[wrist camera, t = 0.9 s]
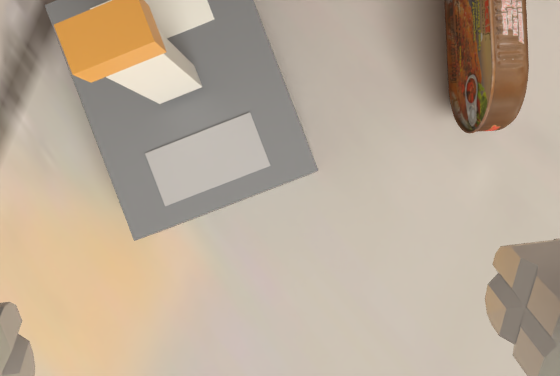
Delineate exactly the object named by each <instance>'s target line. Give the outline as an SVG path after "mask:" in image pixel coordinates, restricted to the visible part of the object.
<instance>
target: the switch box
mask: <svg viewBox="0 0 560 376" xmlns="http://www.w3.org/2000/svg"><path fill="white" fill-rule="evenodd" d="M110 1H112V0H56V1H54V2H51V3H49V4H46V5H45V8H46V10H47V13H48V16H49V18H50V21H51V23H52V26H53V29H54V31H55V34H56V37H57V39H58V42H59V44H60V47H61V50H62V52H63V55H64V58H65V60H66V63H67V65H68V68H69V71H70V73H71V76H72V79H73V81H74V84H75V86H76V89H77V92H78V94H79V97H80V100H81V102H82V105H83V107H84V110H85V113H86V115H87V118H88V121H89V123H90V126H91V128H92V131H93V134H94V136H95V139H96V142H97V144H98V147H99V149H100V152H101V155H102V157H103V160H104V163H105V165H106V168H107V171H108V173H109V176H110V178H111V181H112V184H113V186H114V189H115V192H116V194H117V197H118V199H119V202H120V205H121V207H122V210H123V213H124V215H125V218H126V220H127V223H128V226H129V228H130V231H131V234H132V236H133V239H134V241H135V240H138V239H141V238H144V237H146V236H149V235H152V234H155V233H158V232H160V231H163V230H166V229H168V228H171V227H174V226H176V225H179V224H181V223H184V222H187V221H189V220H192V219H194V218H197V217H200V216H202V215H205V214H208V213H210V212H213V211H215V210H218V209H221V208H223V207H226V206H228V205H231V204H234V203H236V202H239V201H242V200H244V199H247V198H249V197H252V196H255V195H257V194H260V193H262V192H265V191H268V190H270V189H273V188H275V187H278V186H281V185H283V184H286V183H289V182H291V181H294V180H296V179H299V178H302V177H304V176H307V175H309V174H312V173H315V172H317V171H318V168H317V166H316V163H315V161H314V158H313V155H312V153H311V150H310V148H309V145H308V142H307V140H306V137H305V134H304V132H303V129H302V127H301V124H300V121H299V119H298V116H297V114H296V111H295V108H294V106H293V103H292V100H291V98H290V95H289V93H288V90H287V87H286V85H285V82H284V80H283V77H282V74H281V72H280V69H279V66H278V64H277V61H276V59H275V56H274V53H273V51H272V48H271V46H270V43H269V40H268V38H267V35H266V32H265V30H264V27H263V25H262V22H261V19H260V17H259V14H258V12H257V9H256V6H255V4H254V1H253V0H144V1H145V2H146V3H147V4H148V5H149V7H150V10H151V12H152V15H153V17H154V20H155V23H156V25H157V28H158V30H159V31H160V32H161V33H162V34H163V35H164V36H165V37H166V38H167V39H168V40H169V41H170V42H171V43H172V44H173V45H174V46H175V47H176V48H177V49H178V50H179V51H180V52H181V53H182V54H183V55H184V56H185V57H186V58H187V59H188V60H189V61H190V62H191V63H192V64H193V65H194V66H195V69H196V71H197V74H198V77H199V79H200V82H201V85H202V87H201V88H199V89H196V90H194V91H191V92H189V93H186V94H184V95H181V96H179V97H176V98H174V99H171V100H169V101H166V102H164V103H161V104H159V103H157V102H155V101H153V100H151V99H149V98H147V97H144V96H142V95H140V94H138V93H136V92H134V91H132V90H130V89H128V88H126V87H124V86H122V85H120V84H118V83H116V82H114V81H112V80H110V79H108V78H106V77H104V78H102V79H99V80H97V81H94V82H92V83H90V82H88V81H86V80H83V79H81V78H79V77H77V76H74V75H72V72H71V69H70V67H69V64H68V62H67V59H66V56H65V54H64V51H63V48H62V46H61V43H60V41H59V38H58V35H57V33H56V30H55V27H54V24H56V23H59V22H61V21H64V20H66V19H69V18H71V17H73V16H76V15H78V14H81V13H83V12H85V11H88V10H90V9H93V8H95V7H98V6H100V5H102V4H105V3H107V2H110Z"/></svg>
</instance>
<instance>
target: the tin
mask: <svg viewBox="0 0 560 376" xmlns="http://www.w3.org/2000/svg"><path fill="white" fill-rule="evenodd" d="M445 19H446V40H447V63H448V83H449V96H450V102H451V107H452V111H453V114H454V117H455V120H456V122H457V124H458V125H459V127H460V128H461V129H462V130H463V131H465V132H466V133H474V132H476V131H494V130H500V129H503V128H504V127H506V126H507V125H509V124H510V123H511V122H512V121H513V120H514V119H515V118H516V116H517V115H518V113H519V111H520V109H521V106H522V103H523V101H524V97H525V93H526V88H527V81H528V69H529V63H528V37H527V13H526V0H445Z"/></svg>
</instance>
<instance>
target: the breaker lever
mask: <svg viewBox="0 0 560 376" xmlns="http://www.w3.org/2000/svg"><path fill="white" fill-rule="evenodd" d="M54 27H55V30H56V33H57V35H58V38H59V41H60V43H61V46H62V48H63V51H64V54H65V56H66V59H67V62H68V64H69V67H70V69H71V72H72V75H74V76H77V77H79V78H81V79H83V80H86V81H88V82H90V83H92V82H94V81H97V80H99V79H102V78H104V77H106V78H108V79H110V80H112V81H114V82H116V83H118V84H120V85H122V86H124V87H126V88H128V89H130V90H132V91H134V92H136V93H138V94H140V95H142V96H144V97H147V98H149V99H151V100H153V101H155V102H157V103H159V104H161V103H164V102H166V101H169V100H171V99H174V98H176V97H179V96H181V95H184V94H186V93H189V92H191V91H194V90H196V89H199V88H201V87H202V85H201V82H200V79H199V77H198V74H197V71H196V69H195V66H194V65H193V64H192V63H191V62H190V61H189V60H188V59H187V58H186V57H185V56H184V55H183V54H182V53H181V52H180V51H179V50H178V49H177V48H176V47H175V46H174V45H173V44H172V43H171V42H170V41H169V40H168V39H167V38H166V37H165V36H164V35H163V34H162V33H161V32H160V31H159V30H158V28H157V25H156V23H155V20H154V17H153V15H152V12H151V10H150V7H149V5H148V4H147V3H146V2H145V1H144V0H112V1H110V2H107V3H105V4H102V5H100V6H98V7H95V8H93V9H90V10H88V11H85V12H83V13H81V14H78V15H76V16H73V17H71V18H69V19H66V20H64V21H61V22H59V23H56V24H54Z"/></svg>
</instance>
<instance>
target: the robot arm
mask: <svg viewBox="0 0 560 376" xmlns="http://www.w3.org/2000/svg"><path fill="white" fill-rule="evenodd" d="M493 266H494V268H495V269H496V271H497V272H498V274H497V275H496V276H495V277H494V278H493V279H492V280H491V281H490V282H489V283H488V286H487V291H486V296H485V303H486V310H487V315H488V317H489V320H490V322H491V324H492V326H493V328H494V329H495V330H496V332H497V333H498V335H499V336H500V337H502V338H504V339H506V340H508V341H509V342H511V343H513V344H514V348H513V356H514V358H515V359H516V360H517V362H518V363H519V365H520V366H521V368H522V369H523V370H524V372H525V373H526V375H527V376H560V238H559V239H554V240H548V241H540V242H532V243H523V244H515V245H507V246H501V247H500V248H499V249H498V251H497V252H496V254H495V258H494V261H493ZM21 323H22V319H21V316H20V314H19V311H18V309H17V306H16V305H15V304H13V303H11V302H5V303H0V376H34V375H35V363H34V356H33V351H32V348H31V345H30V342H29V341H28V340H27V339H25V338H24V337H22V336H21V335H19V334H18V332H19V329H20V326H21Z"/></svg>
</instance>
